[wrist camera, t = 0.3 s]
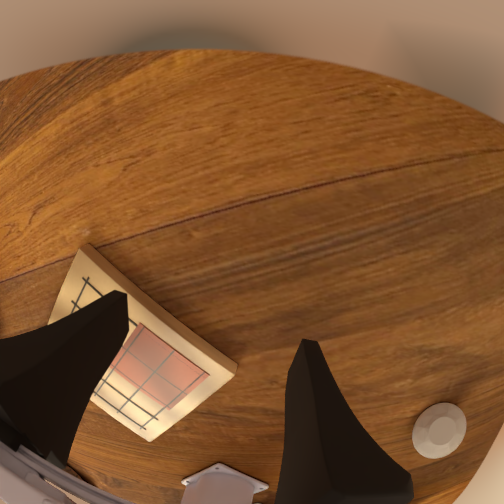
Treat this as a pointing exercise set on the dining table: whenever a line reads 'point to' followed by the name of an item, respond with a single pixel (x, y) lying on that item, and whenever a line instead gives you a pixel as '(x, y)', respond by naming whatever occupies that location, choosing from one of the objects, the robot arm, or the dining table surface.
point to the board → (144, 352)
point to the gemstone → (439, 430)
